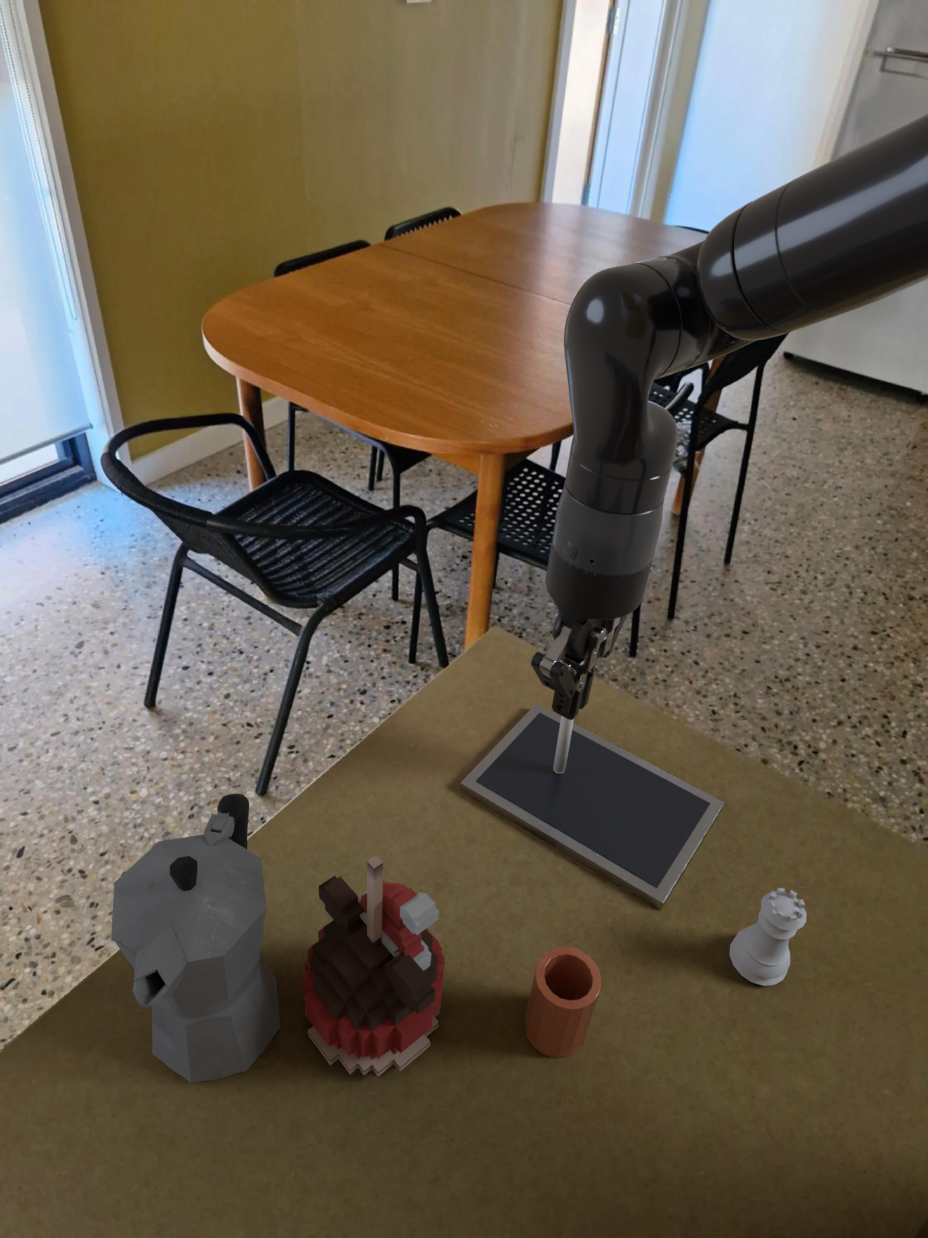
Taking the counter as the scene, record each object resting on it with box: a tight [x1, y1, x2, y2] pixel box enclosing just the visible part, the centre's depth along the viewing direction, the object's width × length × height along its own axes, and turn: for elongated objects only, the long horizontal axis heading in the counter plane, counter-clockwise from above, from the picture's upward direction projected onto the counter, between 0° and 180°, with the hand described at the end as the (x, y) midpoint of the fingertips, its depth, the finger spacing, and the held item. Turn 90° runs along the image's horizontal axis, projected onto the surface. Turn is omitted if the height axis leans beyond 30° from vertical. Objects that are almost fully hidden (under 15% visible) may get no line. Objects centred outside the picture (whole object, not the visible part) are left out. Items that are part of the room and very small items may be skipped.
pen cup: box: [523, 945, 602, 1059], centre depth 62 cm, size 4×4×7 cm
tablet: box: [459, 703, 725, 910], centre depth 80 cm, size 20×13×1 cm, turn 55°
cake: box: [301, 854, 446, 1078], centre depth 58 cm, size 11×9×18 cm
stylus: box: [553, 668, 576, 774], centre depth 77 cm, size 1×1×13 cm
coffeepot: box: [110, 793, 282, 1084], centre depth 58 cm, size 15×9×18 cm, turn 172°
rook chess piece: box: [729, 887, 807, 987], centre depth 66 cm, size 4×4×8 cm
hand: (569, 707), depth 76 cm, fingers closed on stylus, 1 cm apart
